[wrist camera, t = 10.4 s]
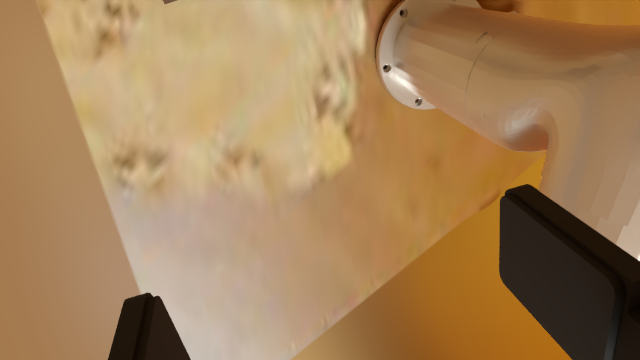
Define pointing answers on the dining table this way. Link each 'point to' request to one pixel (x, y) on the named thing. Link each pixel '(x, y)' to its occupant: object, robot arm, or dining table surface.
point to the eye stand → (168, 1)
